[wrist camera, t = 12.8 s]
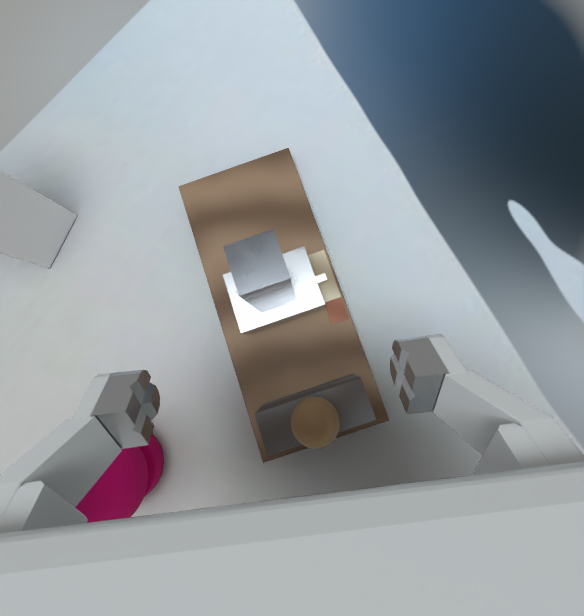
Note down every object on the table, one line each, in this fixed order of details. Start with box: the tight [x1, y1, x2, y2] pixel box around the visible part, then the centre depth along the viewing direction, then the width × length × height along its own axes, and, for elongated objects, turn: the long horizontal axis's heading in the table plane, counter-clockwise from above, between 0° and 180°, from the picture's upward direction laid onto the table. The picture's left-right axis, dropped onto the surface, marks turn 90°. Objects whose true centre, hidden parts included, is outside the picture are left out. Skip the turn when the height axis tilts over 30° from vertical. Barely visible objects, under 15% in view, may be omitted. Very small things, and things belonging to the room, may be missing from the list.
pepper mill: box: [75, 435, 163, 523], centre depth 19 cm, size 7×7×20 cm
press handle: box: [223, 229, 327, 334], centre depth 23 cm, size 5×8×10 cm, turn 109°
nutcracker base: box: [179, 148, 389, 463], centre depth 25 cm, size 26×11×9 cm, turn 19°
